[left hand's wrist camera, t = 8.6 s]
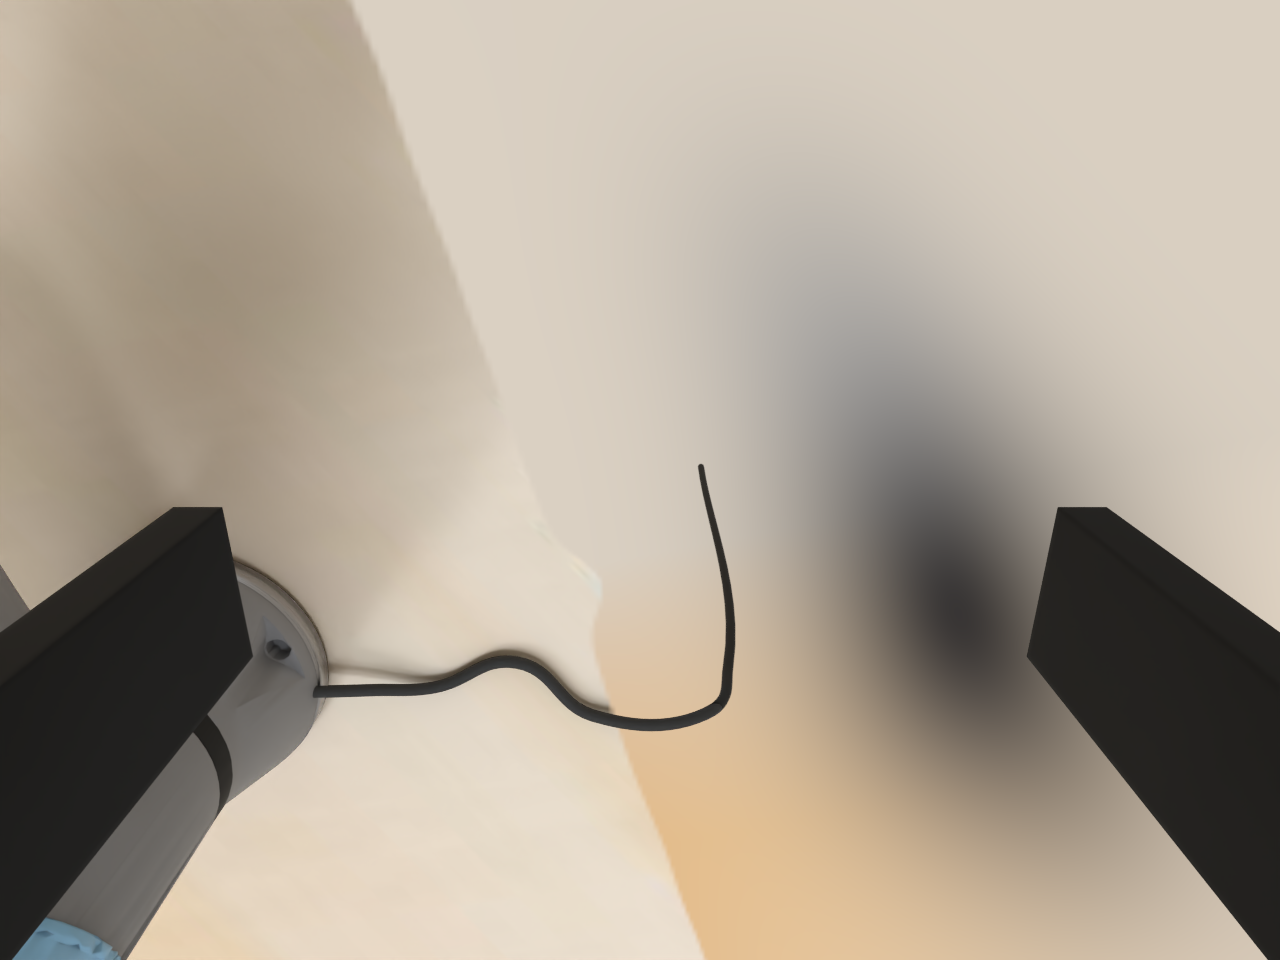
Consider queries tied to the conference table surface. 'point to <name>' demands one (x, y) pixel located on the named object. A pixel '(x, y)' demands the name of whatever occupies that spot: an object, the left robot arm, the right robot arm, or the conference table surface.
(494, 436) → the conference table surface
